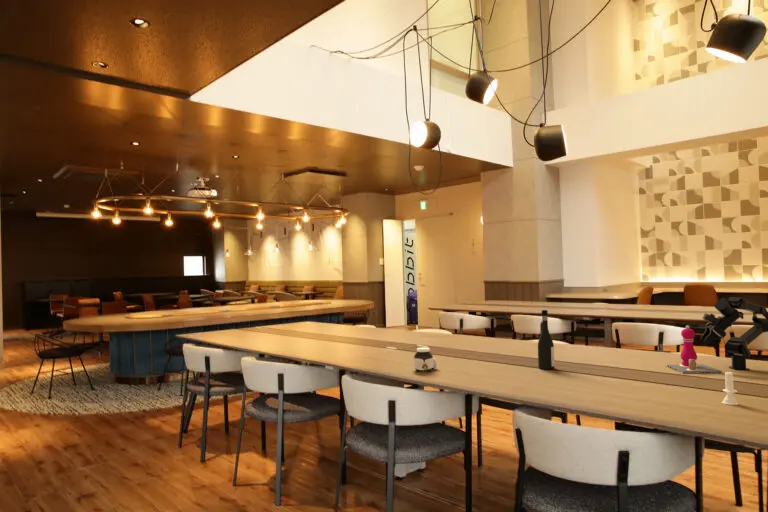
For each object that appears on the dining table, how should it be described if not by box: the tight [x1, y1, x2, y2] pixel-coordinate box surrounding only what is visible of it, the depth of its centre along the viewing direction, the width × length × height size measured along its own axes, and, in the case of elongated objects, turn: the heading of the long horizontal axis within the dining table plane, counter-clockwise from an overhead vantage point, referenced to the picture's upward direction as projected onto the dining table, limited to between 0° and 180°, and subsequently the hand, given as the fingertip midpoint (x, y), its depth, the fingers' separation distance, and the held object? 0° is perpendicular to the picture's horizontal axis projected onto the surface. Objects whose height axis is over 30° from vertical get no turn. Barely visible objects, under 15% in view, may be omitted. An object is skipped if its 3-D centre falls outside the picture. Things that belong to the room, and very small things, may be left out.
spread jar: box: [413, 346, 439, 372], centre depth 279 cm, size 12×11×12 cm
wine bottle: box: [537, 309, 555, 370], centre depth 275 cm, size 8×8×30 cm
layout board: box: [666, 359, 723, 374], centre depth 261 cm, size 17×18×6 cm
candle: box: [721, 371, 739, 406], centre depth 200 cm, size 5×5×12 cm
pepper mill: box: [680, 324, 698, 367], centre depth 266 cm, size 7×7×20 cm
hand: (702, 341), depth 264 cm, fingers open, 9 cm apart
